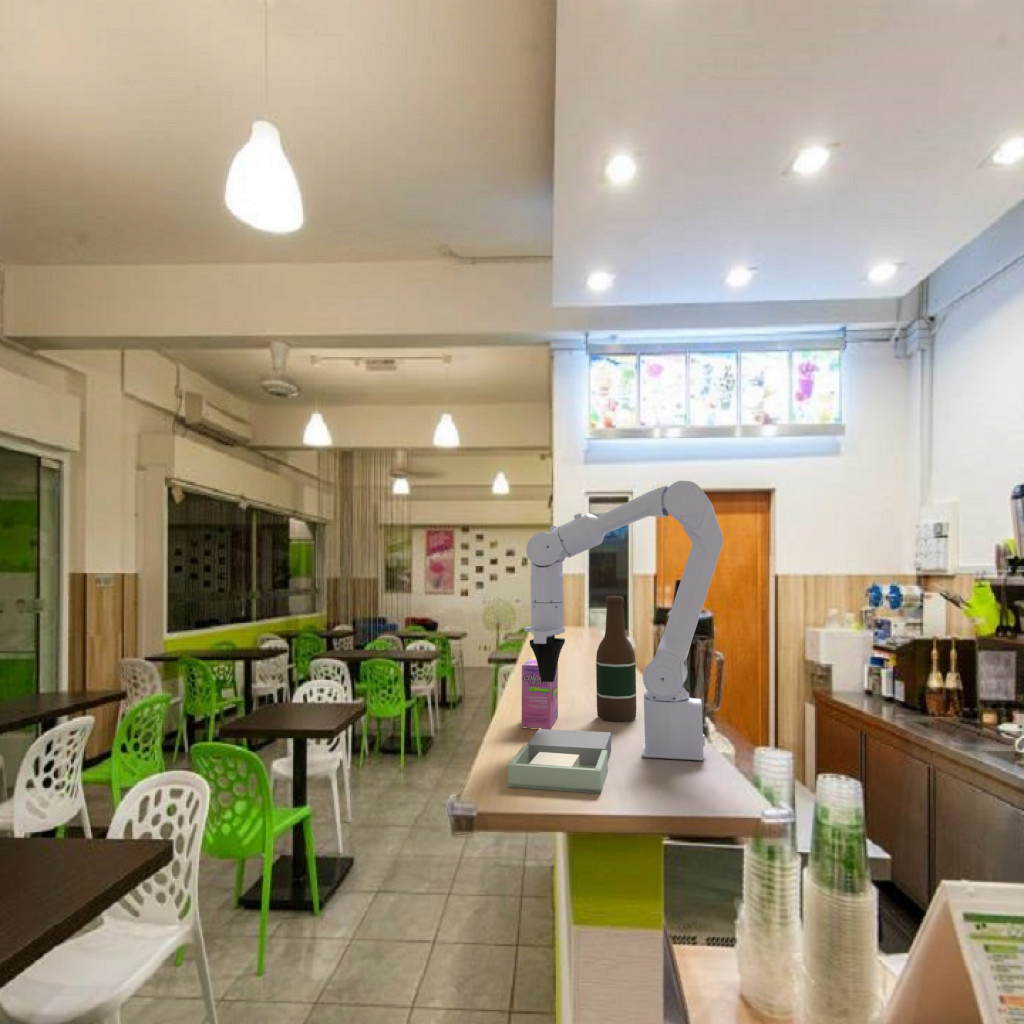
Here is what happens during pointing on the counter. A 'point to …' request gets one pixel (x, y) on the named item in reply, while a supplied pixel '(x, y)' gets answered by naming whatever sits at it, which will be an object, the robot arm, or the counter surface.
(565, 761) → the tile
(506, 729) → the counter surface
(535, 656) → the robot arm
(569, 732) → the bench plate
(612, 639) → the beer bottle
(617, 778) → the counter surface
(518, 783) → the bin
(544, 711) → the box
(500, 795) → the counter surface
